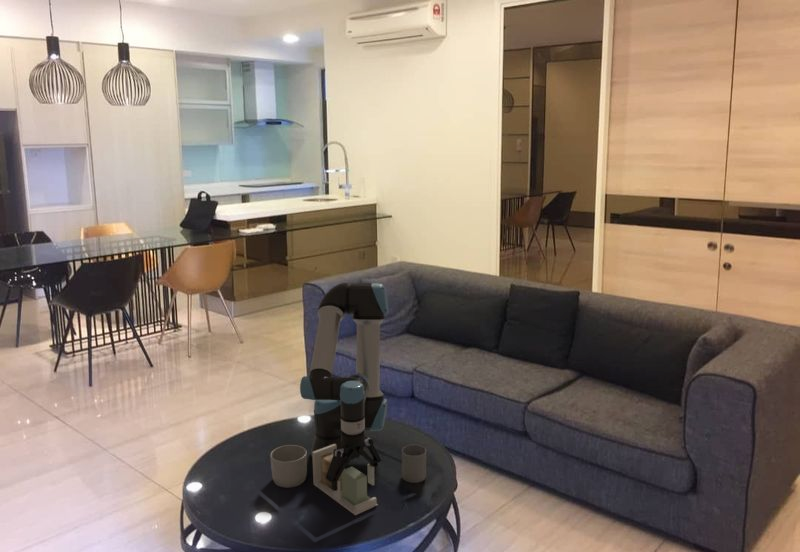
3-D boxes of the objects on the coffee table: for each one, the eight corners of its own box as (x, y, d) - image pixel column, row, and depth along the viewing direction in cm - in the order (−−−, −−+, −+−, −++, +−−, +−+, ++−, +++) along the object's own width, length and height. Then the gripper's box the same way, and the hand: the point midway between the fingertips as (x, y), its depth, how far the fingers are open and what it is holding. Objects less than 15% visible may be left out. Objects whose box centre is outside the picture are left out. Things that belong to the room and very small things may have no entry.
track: (313, 486, 223) (312, 451, 220) (335, 477, 229) (334, 443, 226) (355, 518, 205) (354, 480, 202) (378, 507, 211) (377, 470, 208)
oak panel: (322, 483, 223) (321, 456, 221) (331, 479, 226) (331, 452, 223) (335, 493, 217) (334, 465, 215) (345, 489, 220) (344, 461, 217)
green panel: (342, 498, 214) (341, 470, 212) (352, 493, 217) (351, 466, 214) (357, 508, 208) (356, 480, 206) (367, 504, 211) (366, 476, 208)
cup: (423, 483, 224) (423, 457, 222) (400, 481, 226) (399, 455, 224) (427, 471, 233) (427, 445, 230) (404, 469, 234) (404, 443, 232)
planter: (291, 495, 218) (290, 465, 215) (264, 485, 224) (262, 456, 222) (315, 479, 228) (314, 450, 226) (288, 469, 234) (287, 441, 232)
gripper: (326, 446, 196) (328, 510, 201) (391, 422, 212) (391, 482, 217) (313, 437, 202) (315, 499, 207) (376, 415, 218) (377, 473, 222)
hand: (354, 490), depth 212 cm, fingers open, 13 cm apart
